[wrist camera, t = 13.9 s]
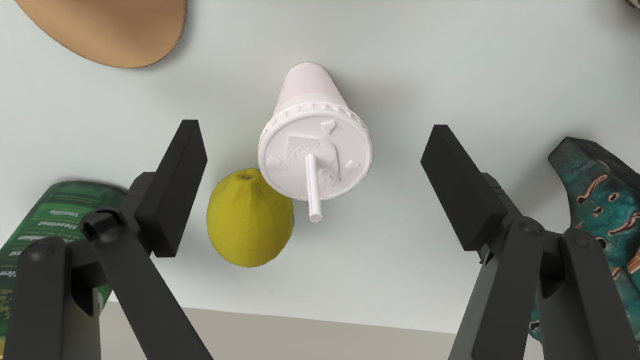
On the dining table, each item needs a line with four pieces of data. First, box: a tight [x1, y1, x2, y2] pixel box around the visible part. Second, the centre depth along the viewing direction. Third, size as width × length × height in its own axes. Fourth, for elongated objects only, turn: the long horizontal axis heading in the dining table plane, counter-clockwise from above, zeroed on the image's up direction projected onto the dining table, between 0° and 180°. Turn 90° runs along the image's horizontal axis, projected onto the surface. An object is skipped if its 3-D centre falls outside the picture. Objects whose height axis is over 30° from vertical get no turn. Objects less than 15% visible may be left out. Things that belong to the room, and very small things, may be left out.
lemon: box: [206, 168, 294, 268], centre depth 27 cm, size 11×8×8 cm
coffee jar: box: [0, 181, 126, 360], centre depth 24 cm, size 10×8×19 cm
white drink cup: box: [258, 62, 373, 222], centre depth 18 cm, size 6×6×14 cm
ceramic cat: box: [477, 137, 640, 350], centre depth 27 cm, size 20×6×20 cm, turn 168°
